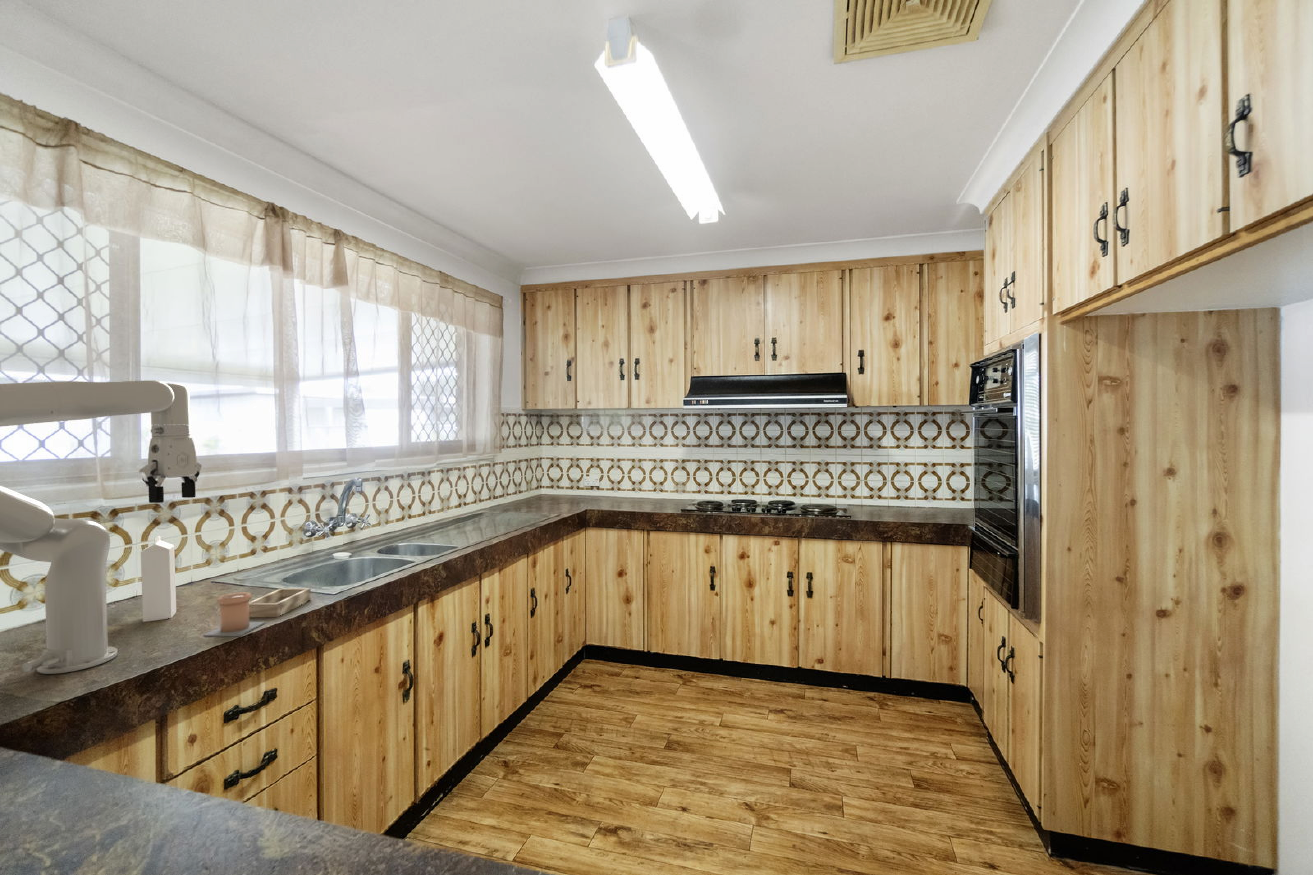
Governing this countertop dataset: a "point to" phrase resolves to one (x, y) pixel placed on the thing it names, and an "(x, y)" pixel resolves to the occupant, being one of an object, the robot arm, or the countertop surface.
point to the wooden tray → (279, 602)
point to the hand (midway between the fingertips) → (173, 499)
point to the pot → (234, 611)
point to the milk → (158, 581)
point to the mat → (237, 633)
